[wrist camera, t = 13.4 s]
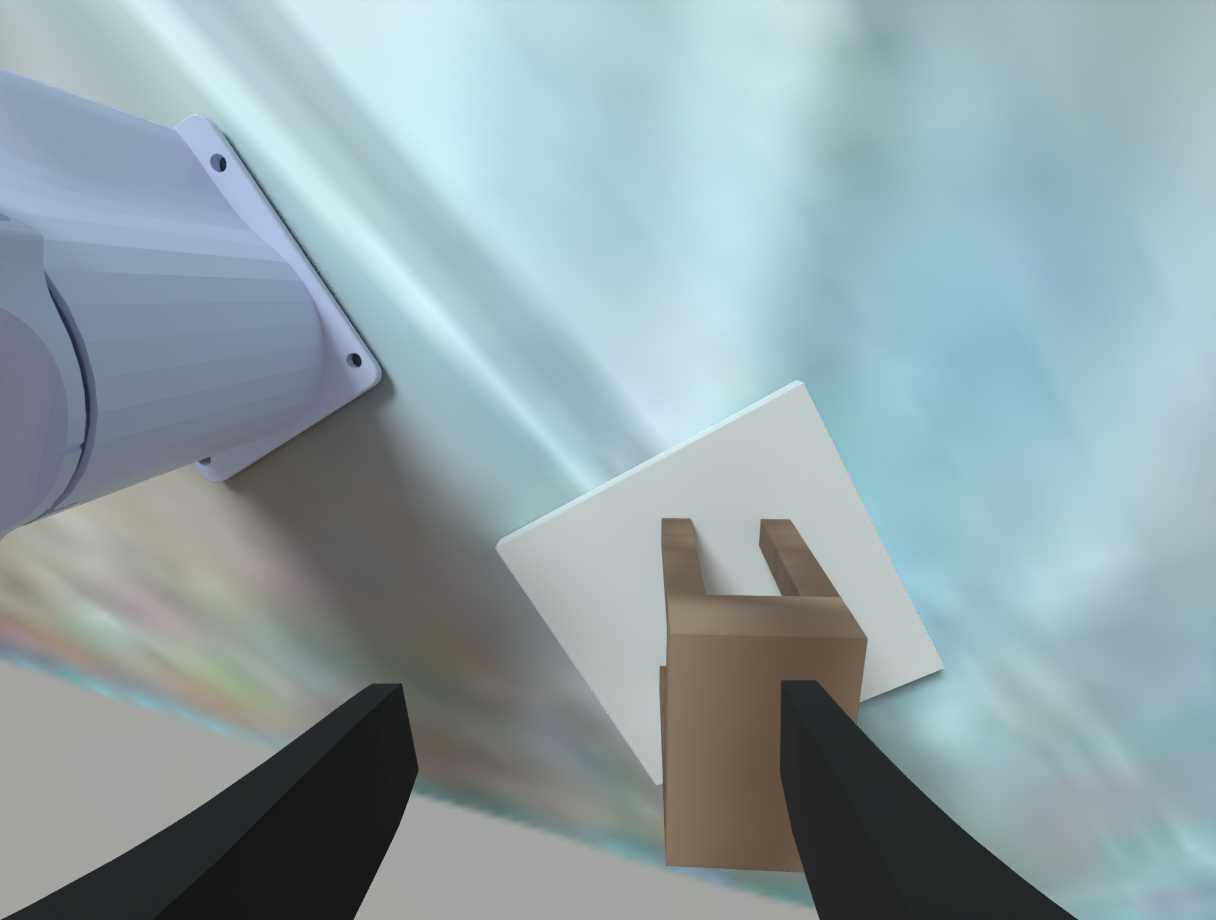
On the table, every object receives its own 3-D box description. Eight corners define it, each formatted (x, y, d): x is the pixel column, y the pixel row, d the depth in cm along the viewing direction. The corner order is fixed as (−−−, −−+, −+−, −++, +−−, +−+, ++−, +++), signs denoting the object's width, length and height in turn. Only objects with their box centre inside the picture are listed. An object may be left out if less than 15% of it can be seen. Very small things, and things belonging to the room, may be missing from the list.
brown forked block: (659, 688, 22) (666, 865, 15) (661, 518, 20) (670, 633, 13) (775, 691, 21) (836, 873, 15) (790, 519, 19) (867, 638, 13)
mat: (500, 538, 21) (495, 548, 20) (796, 379, 19) (803, 383, 18) (656, 769, 24) (656, 785, 23) (934, 654, 21) (945, 667, 21)
